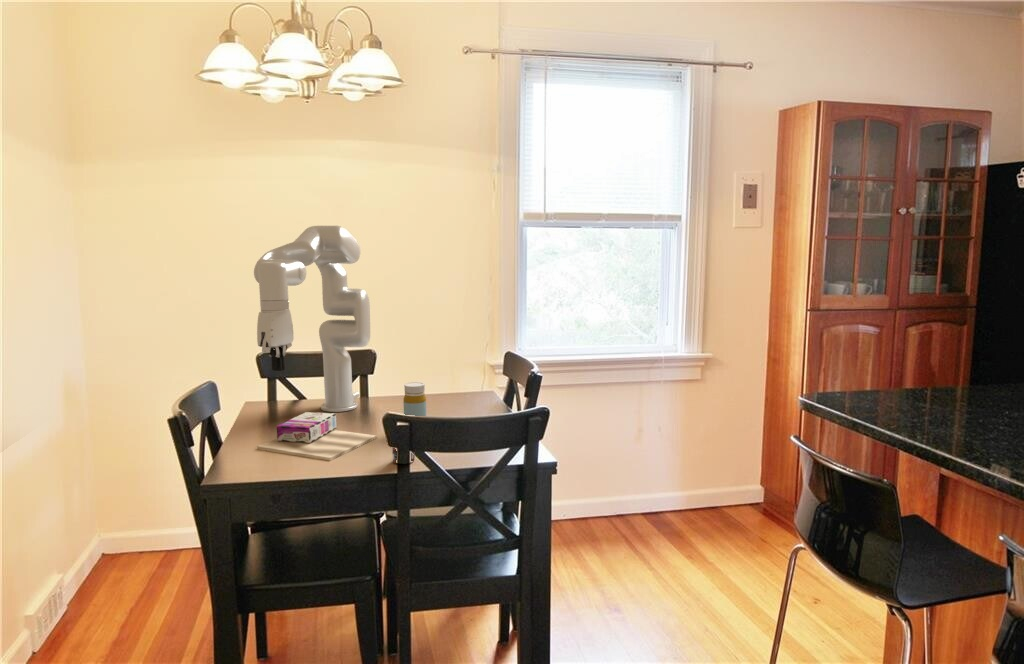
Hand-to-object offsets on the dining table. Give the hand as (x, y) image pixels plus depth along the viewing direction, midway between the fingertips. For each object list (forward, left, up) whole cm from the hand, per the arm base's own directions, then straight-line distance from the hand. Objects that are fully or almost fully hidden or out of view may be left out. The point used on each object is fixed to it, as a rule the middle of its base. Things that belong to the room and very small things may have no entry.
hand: (278, 370), depth 191 cm
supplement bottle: (-4, +38, -24) cm, 45 cm away
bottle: (-30, +26, -24) cm, 46 cm away
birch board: (-8, +6, -23) cm, 25 cm away
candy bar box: (-3, +1, -20) cm, 20 cm away
